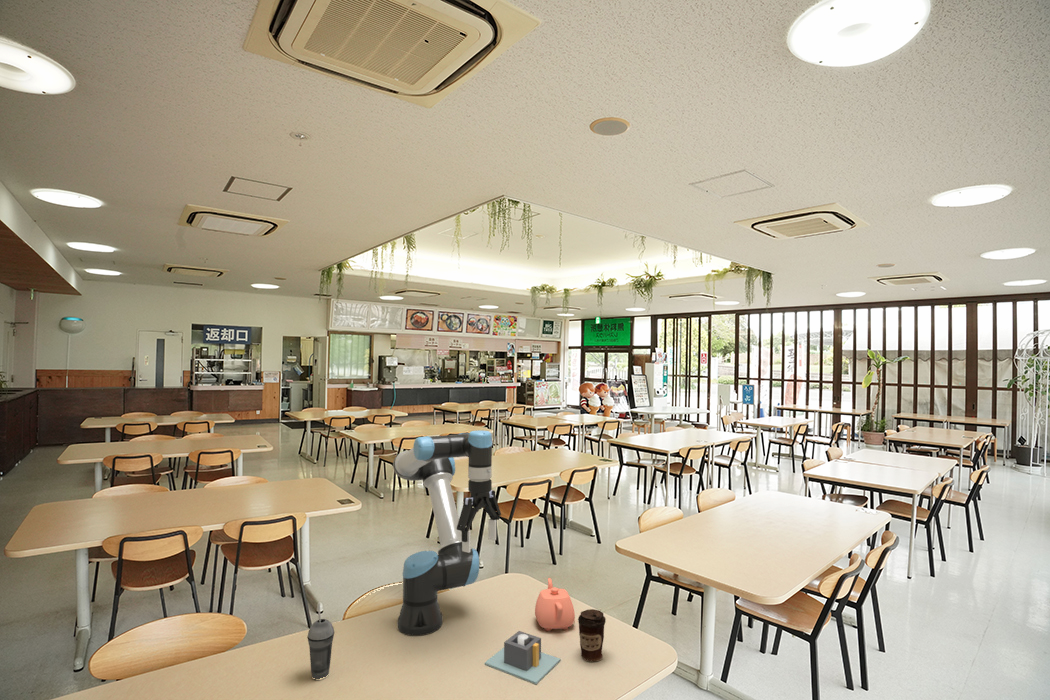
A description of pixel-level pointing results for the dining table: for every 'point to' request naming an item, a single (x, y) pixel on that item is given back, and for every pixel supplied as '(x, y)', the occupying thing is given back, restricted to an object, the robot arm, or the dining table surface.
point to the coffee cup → (591, 634)
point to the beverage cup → (320, 646)
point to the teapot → (554, 608)
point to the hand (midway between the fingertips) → (479, 545)
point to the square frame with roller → (522, 652)
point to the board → (531, 675)
